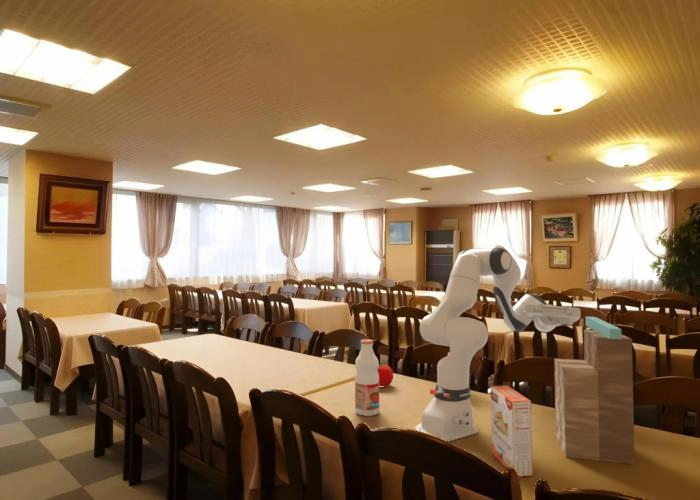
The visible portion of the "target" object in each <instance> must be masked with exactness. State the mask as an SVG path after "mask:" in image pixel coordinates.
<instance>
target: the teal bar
mask: <svg viewBox="0 0 700 500" xmlns="http://www.w3.org/2000/svg"><path fill="white" fill-rule="evenodd" d="M584 319H585V326H586V327H587V328H590V330H595V331H597V332H598V333H600V334H602V335H604V336H605V337H607V338H609V339H621V334H622V329H621V328H619V327H618V326H616V325H614V324H611V323H609V322H607V321H605V320H603V319H601V318H598V317H596V316H585V318H584Z"/></svg>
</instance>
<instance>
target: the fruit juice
mask: <svg viewBox="0 0 700 500" xmlns="http://www.w3.org/2000/svg"><path fill="white" fill-rule="evenodd" d="M360 345H361V346H360V352H359V354H358V356H357V357H356V359H355V364H354V365H355V369H356V372H355V375H354V389H355V390H354V396H355V397H354V399H355V400H354V401H355V403H354V405H355V406H354V407H355V414H357V415H358V414H359V416H361V415H364V416H363V417H373V415H374V416H376V415H378V414H379V412H380V387H379V374H378V371H377V369H378V365H379V359H378V358H377V356H376V354H375V351H374V349H373V345H374V340H373V339H370V338H365V339H361V340H360Z"/></svg>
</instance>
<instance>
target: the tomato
mask: <svg viewBox="0 0 700 500" xmlns="http://www.w3.org/2000/svg"><path fill="white" fill-rule="evenodd" d="M377 371H378V374H379V386H387V387H389V386H390V385H391V384H392V382H393V380H394V371H393V369H392V367H390V365H387V363H386V364H384V363H383V364H382V363H381V364H379V365H378V369H377ZM388 385H389V386H388Z"/></svg>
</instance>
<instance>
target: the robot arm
mask: <svg viewBox="0 0 700 500" xmlns="http://www.w3.org/2000/svg"><path fill="white" fill-rule="evenodd" d="M485 276H488V277H489V276H492V279H493V288H492V292H493V294H494V297H495V300H496V303H497V305H498V307H499V310H500V312H501V314H502V318H503V319H502V320H503V322H504V324H505V325H506V327H507V328H508V329H510V330H511V331H512V332H516V333H517V332H524V331H525V330H526V328H527V327H528V326H529V324H530V323H531V322H532V321H533V323H534V327H535V328H536V329H537V330H538V331H539V332H541V333H549V332H551V331H553V330H554V329H556V327H559V326H561V327H562V326H572V325H573V324H574V323H576V322H577V321H579V320H580V318H581V315H582V314H581V308H579V307H571V306H570V305H566V306H557V305H556V306H555V305H554V304H548V303H547V301H545V300H544V299H543V298H542V297H541V296H539V295H537V294H534V293H525V294H524V295H523V296H522V297H521V298H520V299H519V300H518V301H517V302H516V303H515V304H514V305H512V302H511V296H512V293H513V292H514V290H515V288H516V286H518V283H519V282H520V279H521V276H522V273H521V268H520V266H519V264H518V263H517V261H516V260H515V258H514V257H513V255H512V254H511V253H510V252H509V251H508V250H507V249H506V248H505V247H504V246H503V245H501V244H493V245H491V246H489V247H477V248H476V247H475V248H471V249H468V248H467V249H464V250H462V251H460V252H459V253H458V254H457V256H456V258H455V261H454V263H453V266H452V268H451V271H450V274H449V279H448V283H447V286H446V289H445V293H444V295H443V298H442V300H441V301H440V303H439V304H438V306H437V307H436V308H435V309H434V310H433V311H432V312H431V313H429V314H427V315H425V316H424V317H423V318H422V320H421V321H420V324H419V333H420V336H421V339H423V340H424V341H427V342H429V343H431V344H434V345H439V346H445V347H449V352H450V353H449V352H448V353H449V356H448V355H447V356H444V357H442V358H441V359H440V360H439V361H438V363H437V366H436V372H437V373H436V377H437V378H436V379H437V382H436V384H435V388H433V387H431V388H430V389H429V394H430V395H433V398H432V399H431V400H430V402H429V404H427V406H426V407H425V408H424V410H423V411H422V414H421V422H420V423H417V424H416V425H415V426H414V431H415V430H417V431H421V432H424V433H427V434H430V435H433V436H436V437H439V438H441V439H444V440H446V441H448V442H452V441H455V440H458V439H462V438H465V437H469V436H471V435H472V436H473V435H475V434H478V428H477V427H476V426H475V415H474V408H473V405H472V403H471V399H470V398H471V394H472V392H471V386H470V365H471V362H472V359H473V357H474V355H475V354H476V353H477V352H478V351H479V350H481V349H482V348H483V347H484V346H485V345H486V343H487V342H488V340H489V331H488V328H487V326H486V324H485V322H484V321H480V320H479V319H475V318H471V317H464V316H461V315H462V314H463V313H464V312H466V311H468V310H470V309H471V308H473V307H474V305H475V304H476V300H477V295H478V291H479V287H480V283H481V282H480V281H481V277H485ZM448 442H447V443H448Z"/></svg>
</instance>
